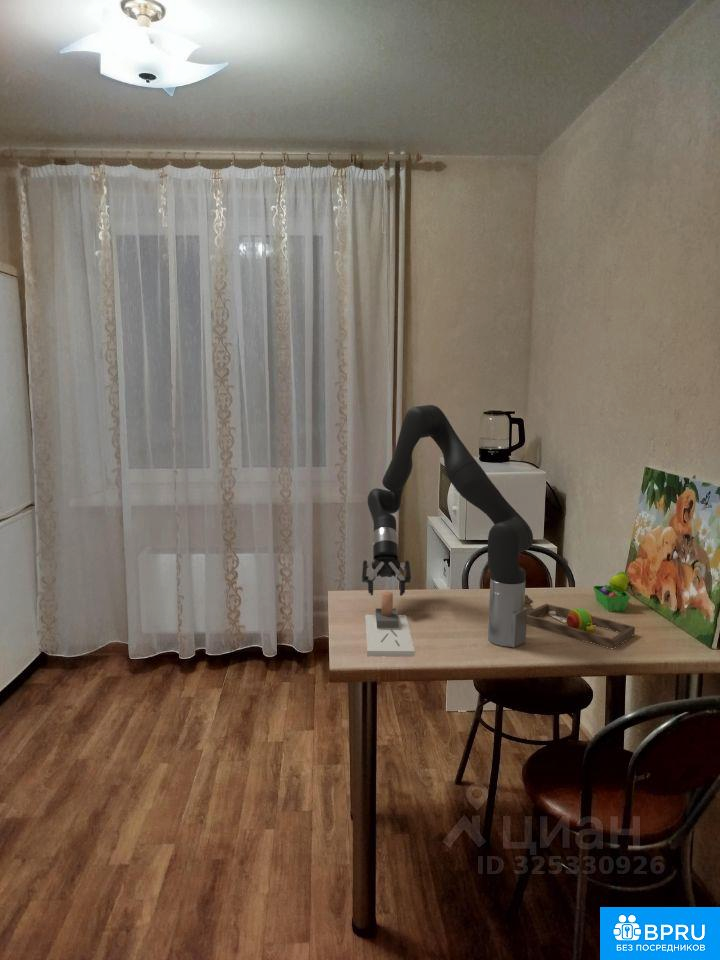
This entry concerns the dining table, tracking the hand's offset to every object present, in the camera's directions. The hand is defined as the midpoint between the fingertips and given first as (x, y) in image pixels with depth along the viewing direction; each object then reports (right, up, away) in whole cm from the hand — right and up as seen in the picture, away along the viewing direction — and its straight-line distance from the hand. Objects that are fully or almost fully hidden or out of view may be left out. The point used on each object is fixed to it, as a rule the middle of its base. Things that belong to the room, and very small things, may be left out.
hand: (386, 594), depth 188 cm
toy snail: (+53, -10, 0) cm, 54 cm away
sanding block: (0, -8, -2) cm, 8 cm away
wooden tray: (+54, -10, -2) cm, 55 cm away
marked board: (0, -10, -9) cm, 13 cm away
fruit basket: (+72, -7, +18) cm, 74 cm away
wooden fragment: (+42, -7, +21) cm, 48 cm away
